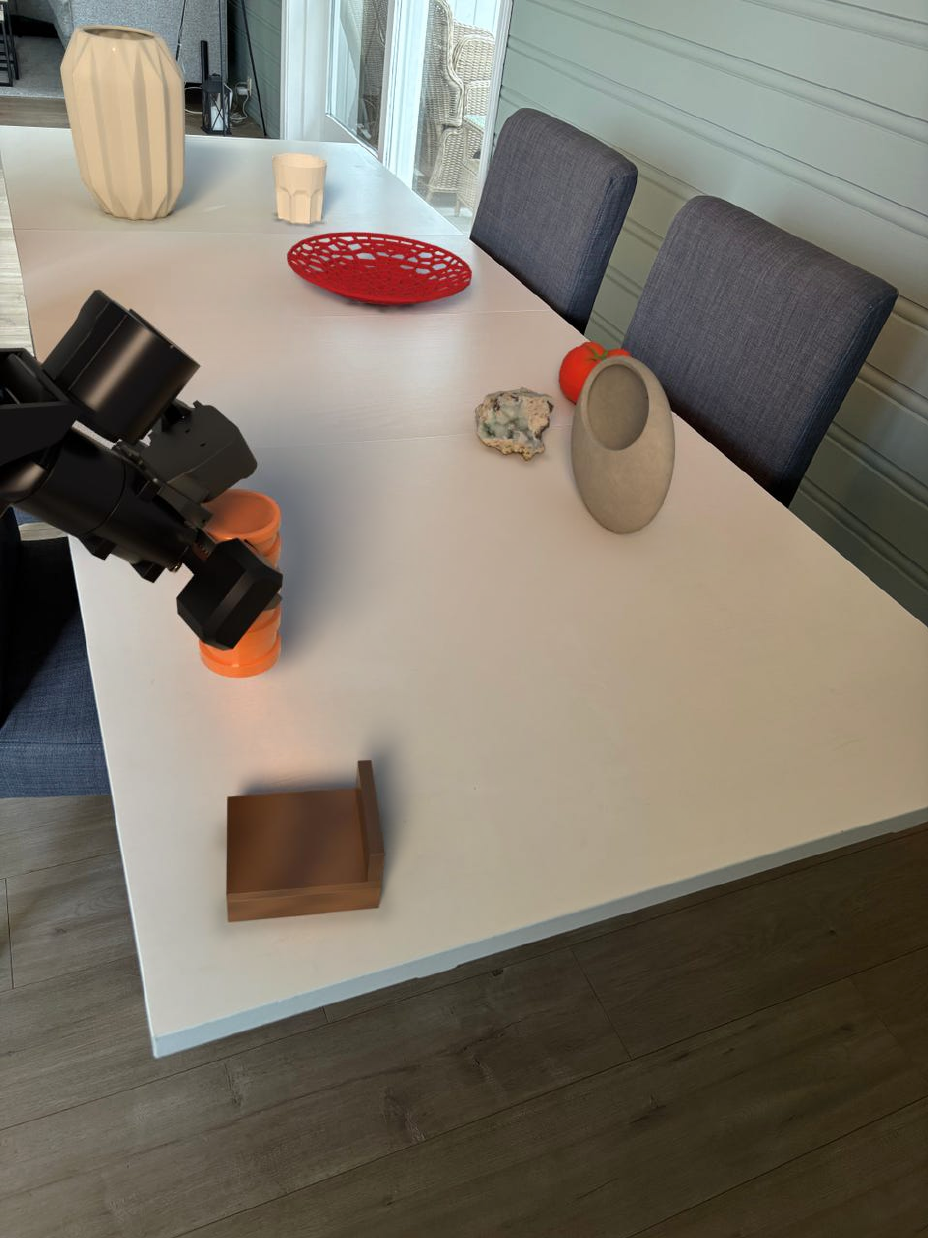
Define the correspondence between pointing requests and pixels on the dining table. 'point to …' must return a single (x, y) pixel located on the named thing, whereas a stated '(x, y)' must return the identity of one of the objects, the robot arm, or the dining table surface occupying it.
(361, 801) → the bookend
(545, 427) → the mineral specimen
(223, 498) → the orange ribbed tumbler
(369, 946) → the dining table surface
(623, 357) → the planter
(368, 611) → the dining table surface
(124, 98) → the vase
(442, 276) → the bowl
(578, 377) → the tomato
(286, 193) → the cup
